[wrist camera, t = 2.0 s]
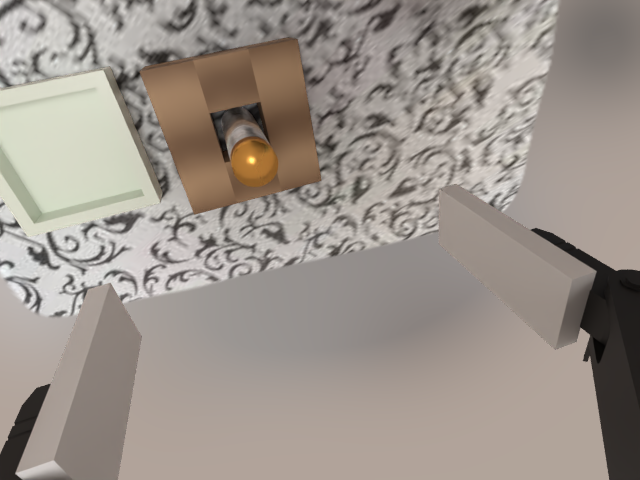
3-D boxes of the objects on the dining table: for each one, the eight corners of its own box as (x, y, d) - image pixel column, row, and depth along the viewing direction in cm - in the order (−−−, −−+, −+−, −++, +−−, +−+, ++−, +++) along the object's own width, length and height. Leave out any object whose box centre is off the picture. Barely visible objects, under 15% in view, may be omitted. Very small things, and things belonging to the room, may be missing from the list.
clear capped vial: (217, 110, 34) (226, 148, 24) (250, 103, 34) (272, 137, 24) (226, 143, 35) (239, 192, 25) (258, 135, 36) (282, 180, 26)
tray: (-43, 97, 28) (-63, 103, 26) (109, 66, 30) (103, 70, 28) (38, 223, 34) (28, 237, 32) (162, 191, 36) (160, 203, 34)
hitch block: (144, 66, 31) (139, 71, 28) (288, 37, 32) (297, 39, 30) (194, 199, 37) (194, 214, 34) (312, 168, 39) (321, 180, 36)
